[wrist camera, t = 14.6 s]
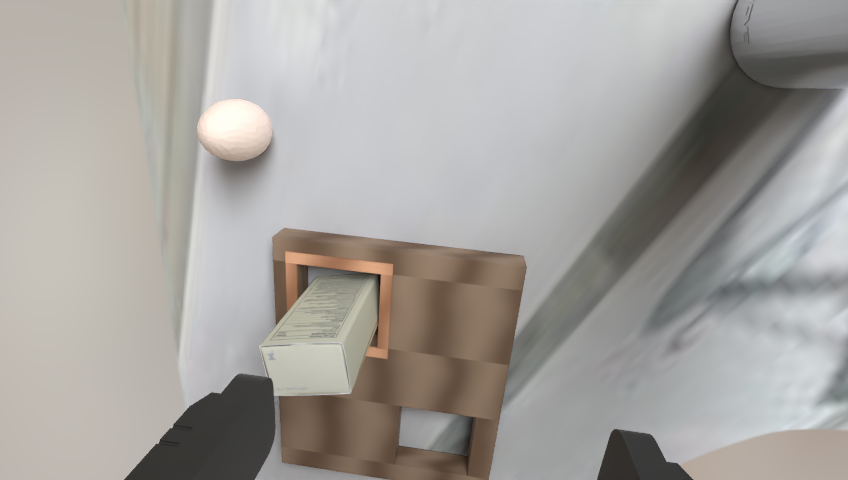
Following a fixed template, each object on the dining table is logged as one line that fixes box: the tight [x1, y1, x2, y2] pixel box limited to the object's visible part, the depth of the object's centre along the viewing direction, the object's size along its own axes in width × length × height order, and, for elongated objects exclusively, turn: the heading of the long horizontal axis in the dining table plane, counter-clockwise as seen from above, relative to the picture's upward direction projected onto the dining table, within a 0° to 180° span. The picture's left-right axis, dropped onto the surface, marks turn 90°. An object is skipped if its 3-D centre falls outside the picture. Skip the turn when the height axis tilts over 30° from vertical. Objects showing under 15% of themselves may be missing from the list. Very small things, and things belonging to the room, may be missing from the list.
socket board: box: [272, 228, 527, 480], centre depth 42 cm, size 22×26×3 cm
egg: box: [197, 99, 272, 161], centre depth 33 cm, size 5×5×7 cm
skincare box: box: [259, 274, 380, 396], centre depth 36 cm, size 6×4×12 cm
